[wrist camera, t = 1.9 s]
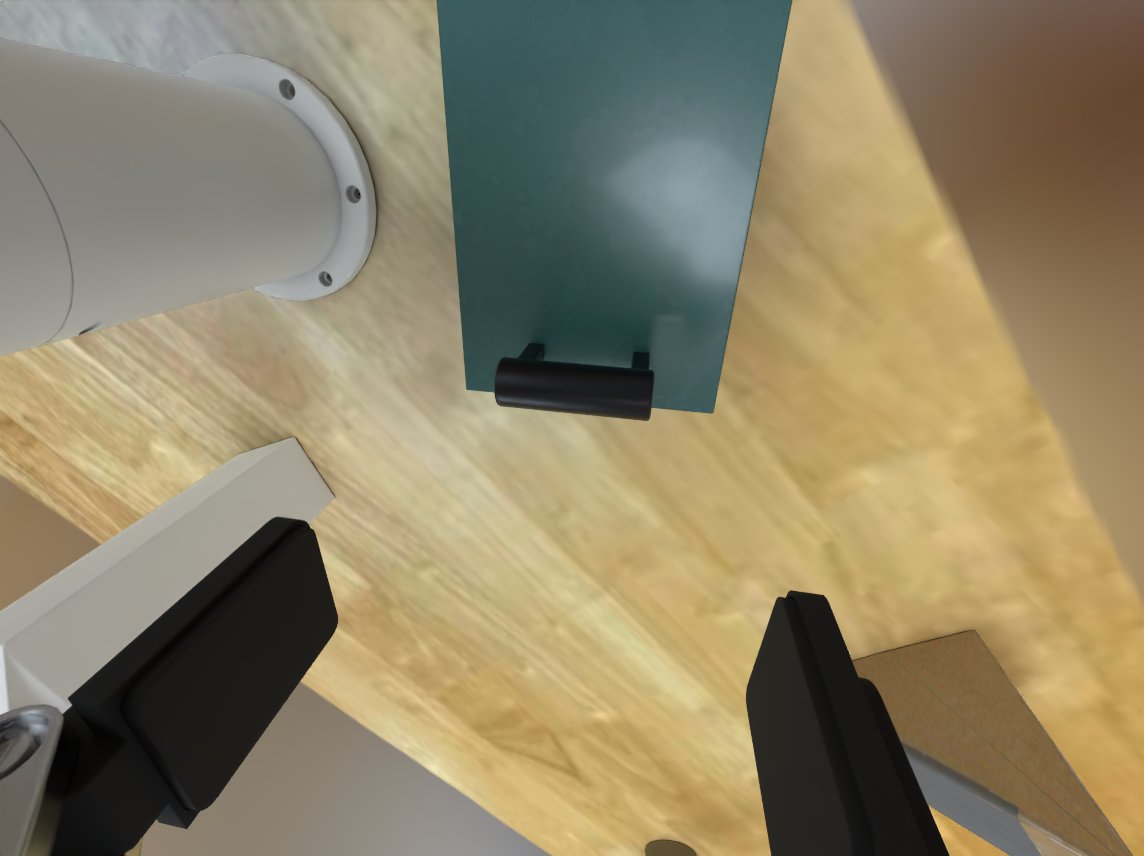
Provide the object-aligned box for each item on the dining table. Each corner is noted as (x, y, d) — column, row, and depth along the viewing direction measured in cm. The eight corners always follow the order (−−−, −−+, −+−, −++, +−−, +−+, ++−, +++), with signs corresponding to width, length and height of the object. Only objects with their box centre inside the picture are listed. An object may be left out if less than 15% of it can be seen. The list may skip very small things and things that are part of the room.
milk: (336, 497, 39) (29, 809, 20) (281, 511, 41) (-51, 810, 22) (293, 434, 37) (-102, 719, 18) (236, 452, 39) (-180, 729, 19)
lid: (711, 406, 22) (726, 471, 17) (471, 383, 23) (423, 437, 18) (791, -16, 15) (853, -107, 10) (444, -12, 16) (355, -90, 11)
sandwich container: (772, 681, 41) (826, 918, 28) (973, 626, 35) (1162, 895, 22) (816, 738, 44) (884, 980, 30) (1010, 696, 38) (1199, 975, 24)
